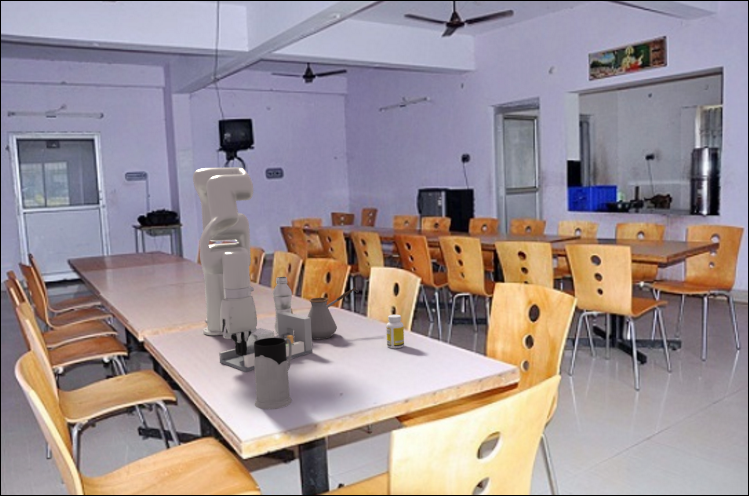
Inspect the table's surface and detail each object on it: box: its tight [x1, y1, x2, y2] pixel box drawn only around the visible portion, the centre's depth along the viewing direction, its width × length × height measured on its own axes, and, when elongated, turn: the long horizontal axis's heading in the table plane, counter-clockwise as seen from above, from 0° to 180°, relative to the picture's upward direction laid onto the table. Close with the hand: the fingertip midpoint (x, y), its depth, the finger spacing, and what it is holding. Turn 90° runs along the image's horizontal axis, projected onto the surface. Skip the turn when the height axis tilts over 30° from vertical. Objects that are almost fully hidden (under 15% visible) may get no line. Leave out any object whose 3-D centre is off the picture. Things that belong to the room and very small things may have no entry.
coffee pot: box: [307, 287, 359, 340], centre depth 207 cm, size 21×12×15 cm, turn 124°
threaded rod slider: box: [247, 327, 291, 355], centre depth 182 cm, size 11×14×7 cm
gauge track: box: [218, 312, 313, 373], centre depth 182 cm, size 14×24×11 cm, turn 134°
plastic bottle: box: [272, 276, 294, 335], centre depth 208 cm, size 6×7×20 cm
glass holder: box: [254, 338, 293, 410], centre depth 147 cm, size 9×14×15 cm, turn 159°
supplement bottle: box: [385, 314, 405, 349], centre depth 189 cm, size 5×5×10 cm
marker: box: [287, 335, 294, 343], centre depth 181 cm, size 1×1×2 cm
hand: (241, 354), depth 177 cm, fingers closed
